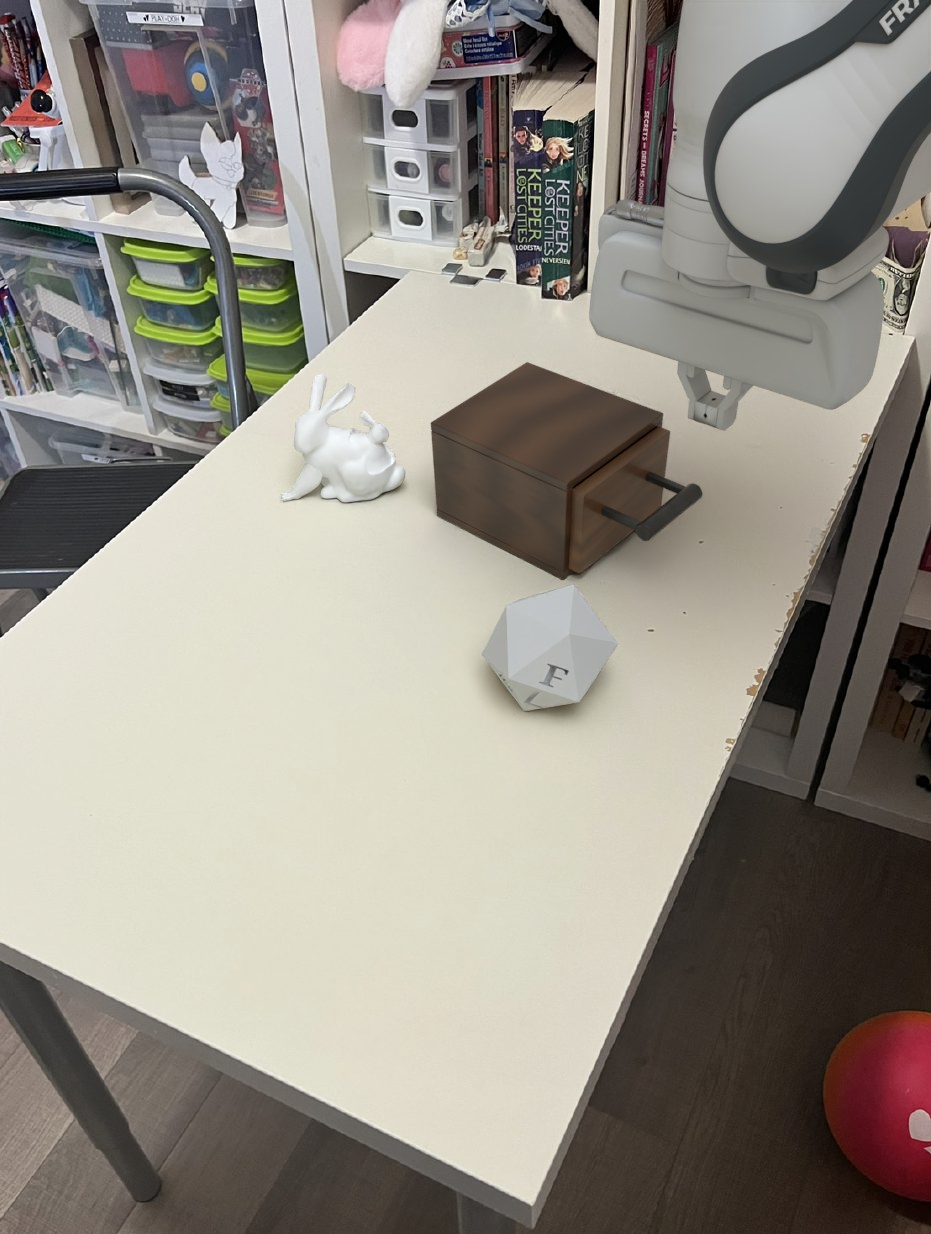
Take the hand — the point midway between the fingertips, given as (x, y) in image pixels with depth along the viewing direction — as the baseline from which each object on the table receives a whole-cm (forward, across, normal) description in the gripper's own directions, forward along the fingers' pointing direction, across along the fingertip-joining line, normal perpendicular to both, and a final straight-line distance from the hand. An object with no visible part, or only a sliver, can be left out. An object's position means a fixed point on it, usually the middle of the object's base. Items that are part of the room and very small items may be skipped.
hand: (711, 421), depth 74 cm
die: (+14, -1, -17) cm, 23 cm away
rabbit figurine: (+14, -33, -8) cm, 37 cm away
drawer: (+13, -11, -1) cm, 17 cm away
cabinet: (+14, -15, -1) cm, 21 cm away
